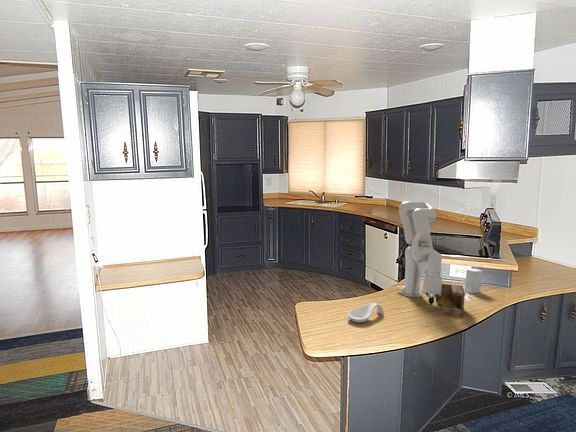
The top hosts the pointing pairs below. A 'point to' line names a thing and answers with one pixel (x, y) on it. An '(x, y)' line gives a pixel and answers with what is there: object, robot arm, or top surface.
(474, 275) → the skincare box
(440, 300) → the potato
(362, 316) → the spoon rest
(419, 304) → the top surface
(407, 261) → the robot arm
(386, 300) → the top surface
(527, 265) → the top surface
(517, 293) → the top surface
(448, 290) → the cubby
